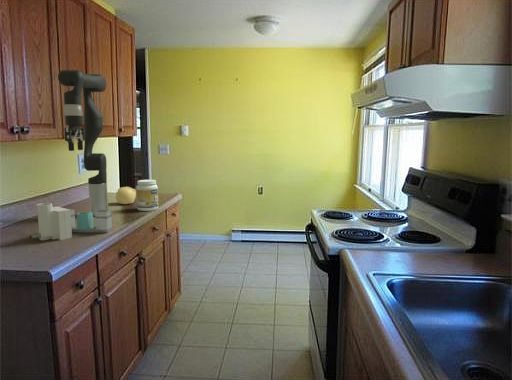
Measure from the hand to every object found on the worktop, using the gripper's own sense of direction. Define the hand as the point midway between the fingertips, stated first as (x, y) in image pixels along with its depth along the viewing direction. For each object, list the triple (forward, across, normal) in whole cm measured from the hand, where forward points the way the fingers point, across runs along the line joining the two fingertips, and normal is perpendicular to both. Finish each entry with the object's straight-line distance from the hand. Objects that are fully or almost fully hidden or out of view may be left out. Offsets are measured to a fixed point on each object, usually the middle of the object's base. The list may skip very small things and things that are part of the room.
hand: (76, 150), depth 179 cm
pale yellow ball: (+36, +57, -1) cm, 68 cm away
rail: (+36, -10, -7) cm, 38 cm away
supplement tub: (+36, +40, -20) cm, 58 cm away
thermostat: (+36, -22, +3) cm, 43 cm away
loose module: (+35, -10, -7) cm, 37 cm away
